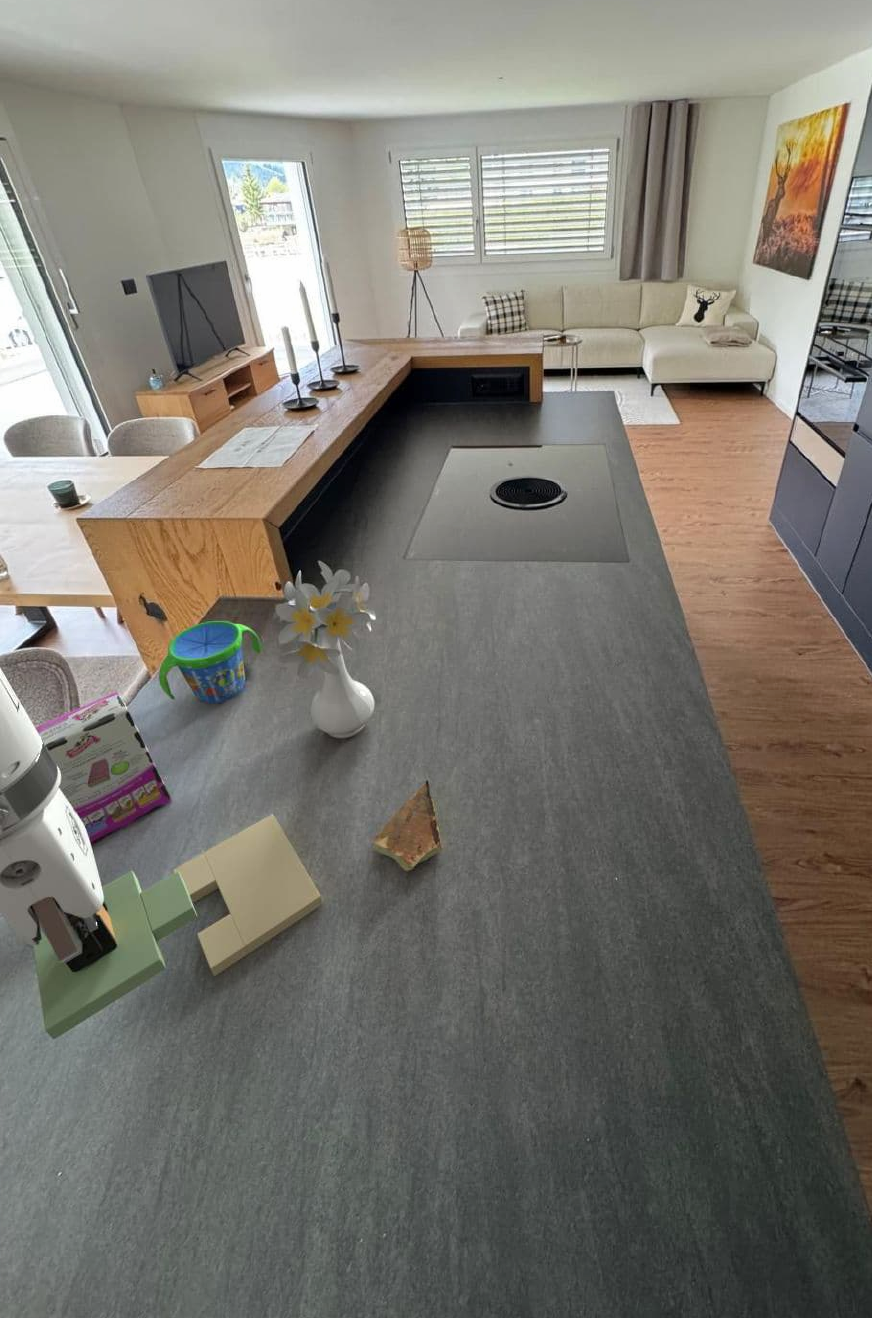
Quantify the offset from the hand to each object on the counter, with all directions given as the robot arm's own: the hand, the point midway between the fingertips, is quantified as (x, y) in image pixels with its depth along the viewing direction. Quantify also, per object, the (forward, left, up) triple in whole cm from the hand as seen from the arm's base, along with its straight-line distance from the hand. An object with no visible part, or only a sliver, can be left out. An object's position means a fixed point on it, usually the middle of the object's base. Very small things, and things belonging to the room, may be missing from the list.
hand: (90, 937), depth 51 cm
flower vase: (+33, +24, -16) cm, 44 cm away
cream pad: (+12, +8, -16) cm, 22 cm away
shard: (+30, +3, -16) cm, 34 cm away
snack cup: (+21, +45, -16) cm, 52 cm away
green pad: (+2, 0, -2) cm, 3 cm away
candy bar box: (+3, +29, -16) cm, 34 cm away
